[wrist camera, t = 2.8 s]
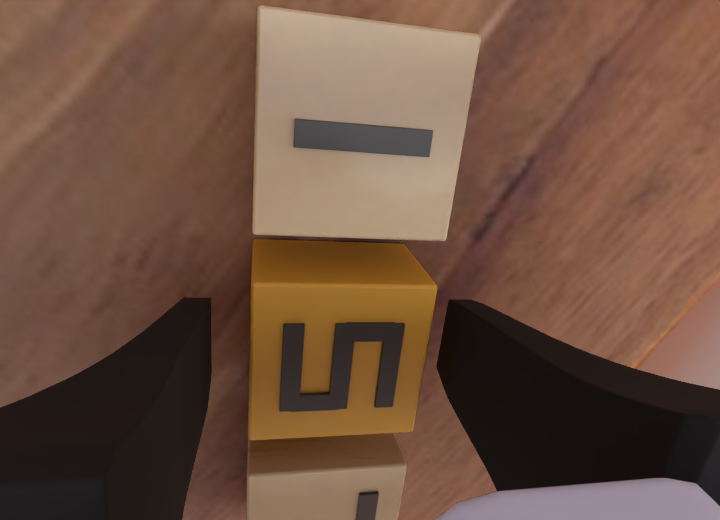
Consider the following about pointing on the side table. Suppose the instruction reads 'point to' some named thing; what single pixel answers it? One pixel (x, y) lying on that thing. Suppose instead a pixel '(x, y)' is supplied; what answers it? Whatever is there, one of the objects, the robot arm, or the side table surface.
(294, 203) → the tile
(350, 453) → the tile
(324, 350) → the yellow number block
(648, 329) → the side table surface
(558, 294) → the side table surface
